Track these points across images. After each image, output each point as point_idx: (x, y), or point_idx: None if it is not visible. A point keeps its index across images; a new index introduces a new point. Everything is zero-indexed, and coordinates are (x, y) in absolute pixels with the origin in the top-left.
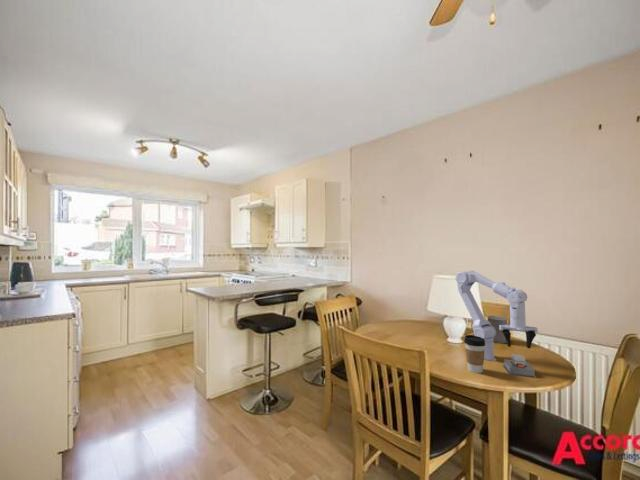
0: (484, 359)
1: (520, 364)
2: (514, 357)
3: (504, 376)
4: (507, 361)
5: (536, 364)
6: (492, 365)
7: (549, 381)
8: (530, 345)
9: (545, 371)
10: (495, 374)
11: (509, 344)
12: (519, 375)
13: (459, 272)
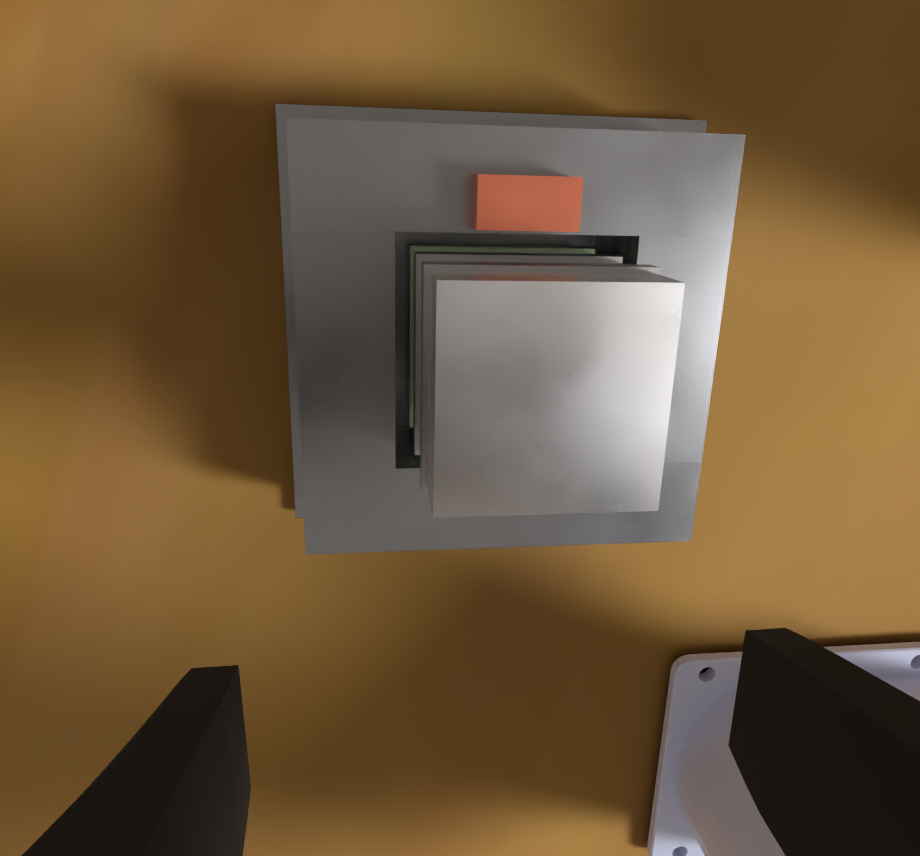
0: (838, 650)
1: (518, 261)
2: (679, 292)
3: (796, 55)
4: (667, 447)
5: (102, 724)
6: (793, 484)
7: (85, 20)
8: (150, 722)
9: (34, 479)
10: (906, 109)
11: (831, 659)
12: (548, 124)
13: None
